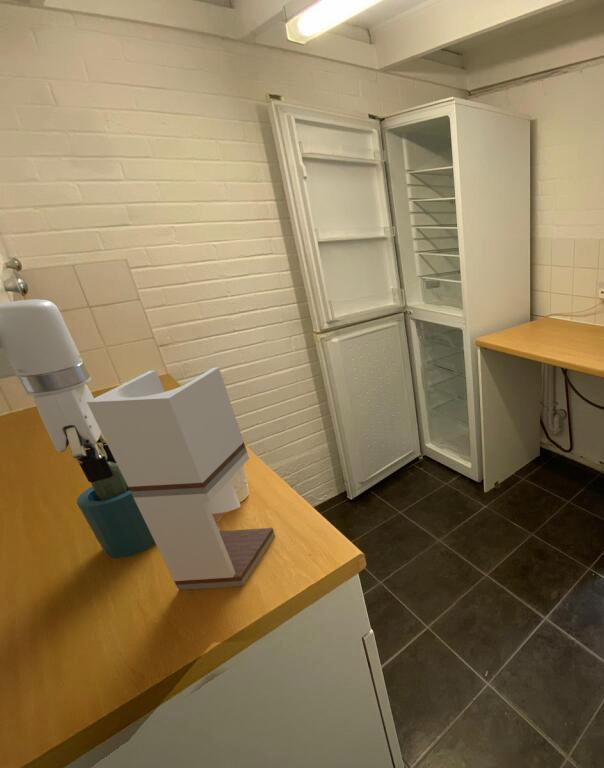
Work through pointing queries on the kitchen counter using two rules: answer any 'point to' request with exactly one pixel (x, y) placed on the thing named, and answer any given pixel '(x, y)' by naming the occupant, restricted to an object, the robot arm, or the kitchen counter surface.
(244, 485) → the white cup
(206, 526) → the white coffee maker
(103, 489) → the vegetable
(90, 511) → the jar
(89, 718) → the kitchen counter surface
